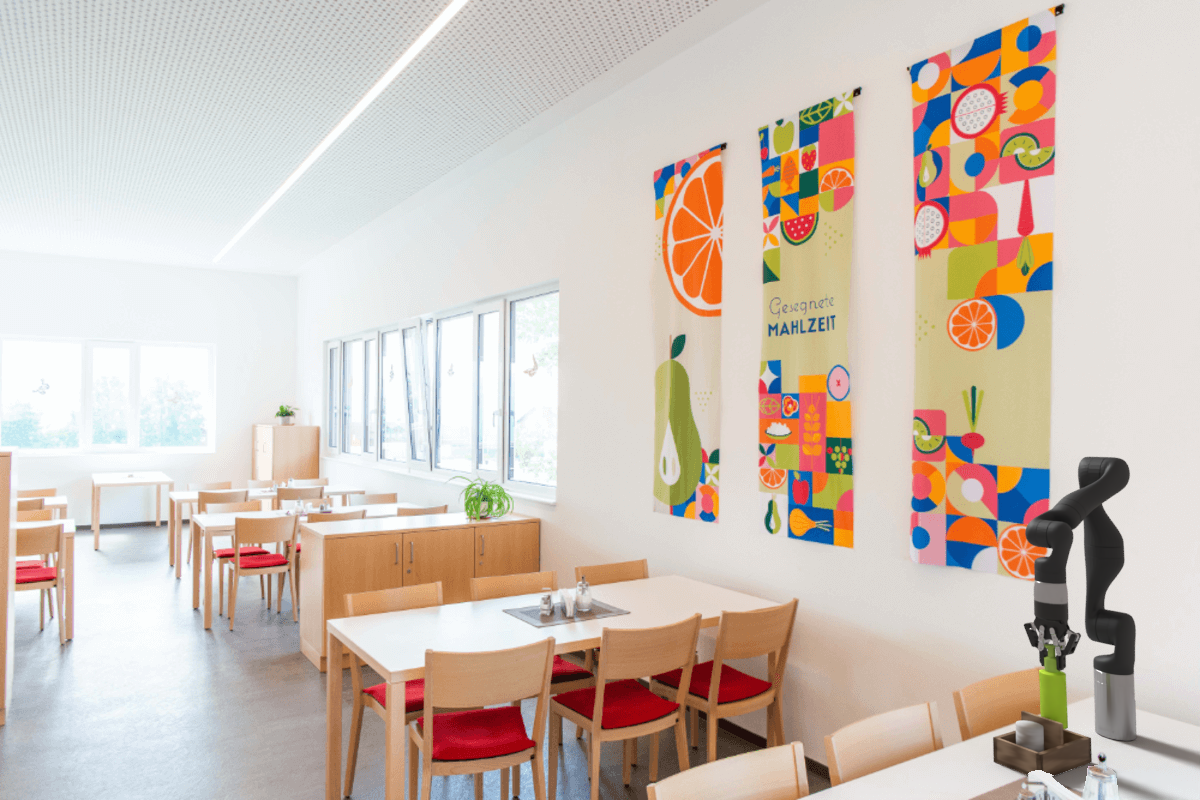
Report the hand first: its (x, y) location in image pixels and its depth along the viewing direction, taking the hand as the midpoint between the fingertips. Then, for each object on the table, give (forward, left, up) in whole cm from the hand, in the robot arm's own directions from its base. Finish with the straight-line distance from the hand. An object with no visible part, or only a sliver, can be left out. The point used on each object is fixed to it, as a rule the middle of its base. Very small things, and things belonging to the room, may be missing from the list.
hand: (1052, 667), depth 194 cm
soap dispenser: (0, +1, -14) cm, 14 cm away
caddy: (+5, 0, -22) cm, 23 cm away
